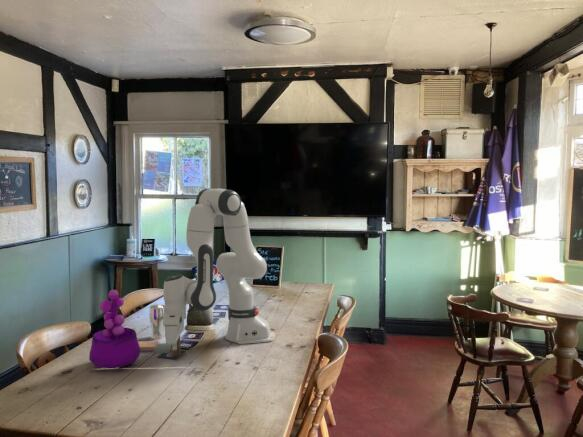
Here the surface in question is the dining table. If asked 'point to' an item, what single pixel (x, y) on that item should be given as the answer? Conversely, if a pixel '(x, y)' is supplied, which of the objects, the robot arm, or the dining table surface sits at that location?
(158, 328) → the beer glass
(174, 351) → the walnut block
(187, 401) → the dining table surface
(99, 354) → the decorative plant
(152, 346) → the tile
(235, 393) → the dining table surface
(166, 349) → the mat
